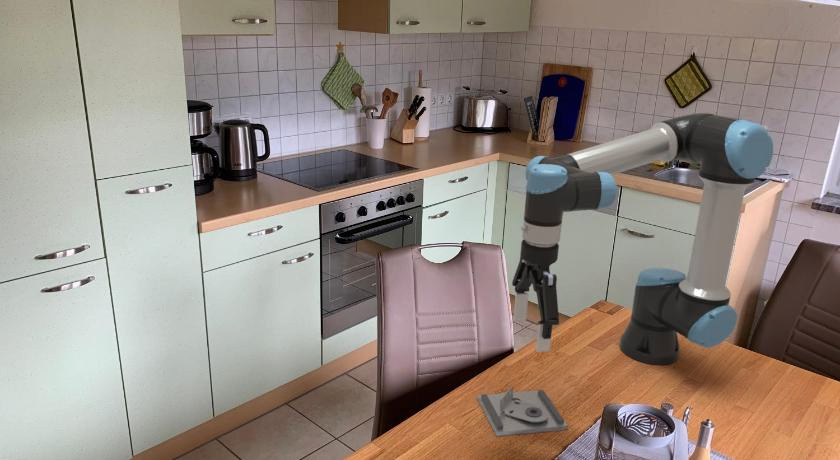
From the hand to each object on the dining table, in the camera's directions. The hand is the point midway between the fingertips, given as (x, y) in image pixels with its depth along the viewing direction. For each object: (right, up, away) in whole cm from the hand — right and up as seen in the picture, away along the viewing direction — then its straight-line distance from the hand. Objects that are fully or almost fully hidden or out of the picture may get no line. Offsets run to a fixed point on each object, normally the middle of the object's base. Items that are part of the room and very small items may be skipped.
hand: (530, 334), depth 138 cm
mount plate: (-1, -19, +6) cm, 20 cm away
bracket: (-1, -18, +5) cm, 19 cm away
